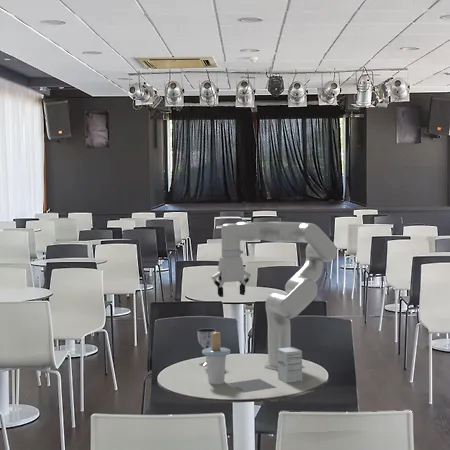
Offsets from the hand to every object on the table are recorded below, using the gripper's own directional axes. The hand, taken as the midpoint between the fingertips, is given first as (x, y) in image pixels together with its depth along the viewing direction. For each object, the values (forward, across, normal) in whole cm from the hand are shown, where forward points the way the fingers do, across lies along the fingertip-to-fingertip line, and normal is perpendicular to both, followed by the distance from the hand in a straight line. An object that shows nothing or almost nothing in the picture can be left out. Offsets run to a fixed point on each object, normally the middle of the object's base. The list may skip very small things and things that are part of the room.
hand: (231, 295), depth 318 cm
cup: (+32, +12, +10) cm, 36 cm away
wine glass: (+32, +3, -19) cm, 38 cm away
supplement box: (+33, -15, +21) cm, 42 cm away
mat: (+32, +2, +21) cm, 39 cm away
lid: (+20, +12, +10) cm, 26 cm away
